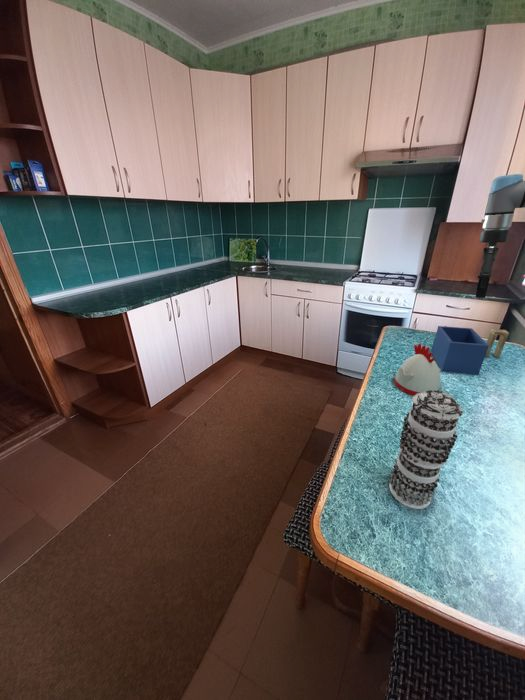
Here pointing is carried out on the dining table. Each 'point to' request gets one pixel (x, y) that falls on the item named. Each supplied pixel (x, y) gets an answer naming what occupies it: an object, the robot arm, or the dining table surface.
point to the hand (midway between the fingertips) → (480, 293)
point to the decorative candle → (424, 447)
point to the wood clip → (500, 343)
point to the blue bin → (459, 350)
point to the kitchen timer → (418, 373)
